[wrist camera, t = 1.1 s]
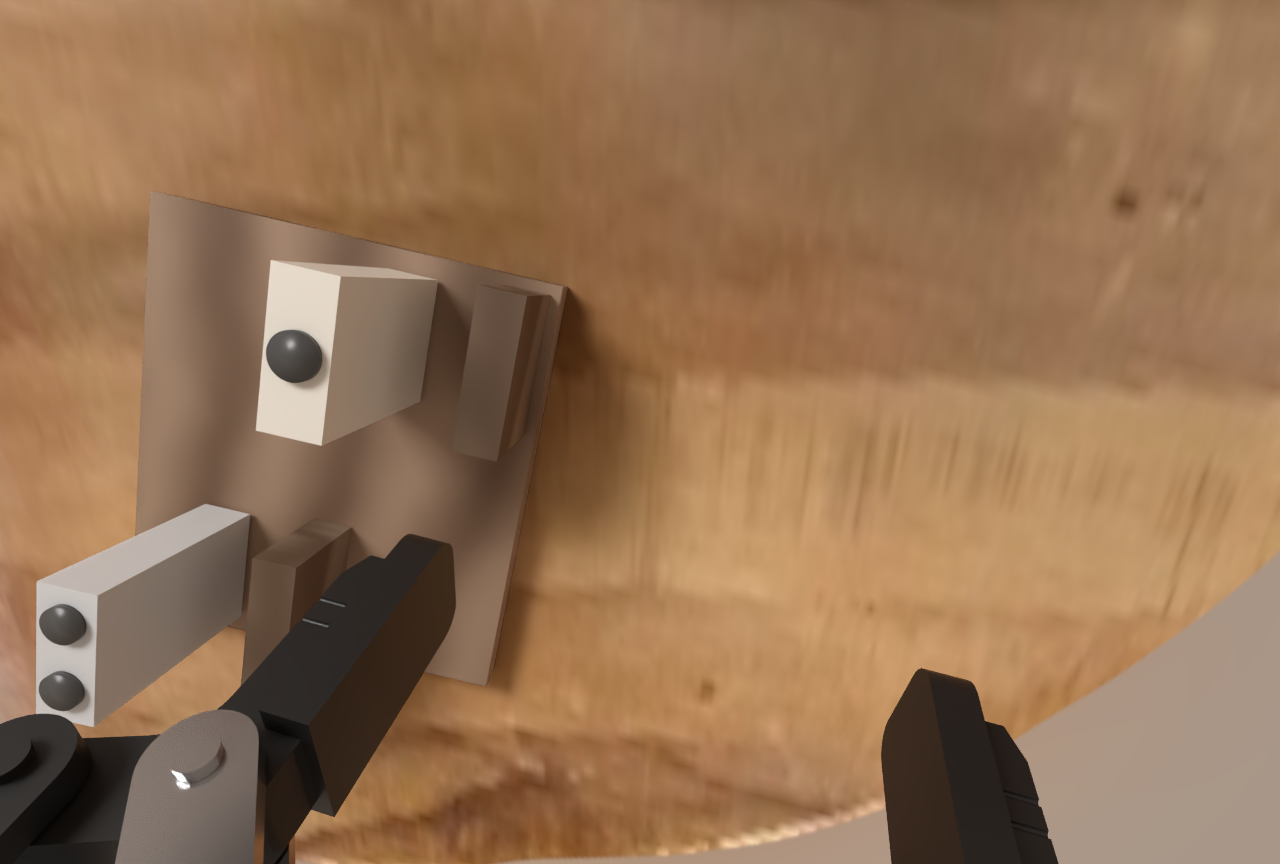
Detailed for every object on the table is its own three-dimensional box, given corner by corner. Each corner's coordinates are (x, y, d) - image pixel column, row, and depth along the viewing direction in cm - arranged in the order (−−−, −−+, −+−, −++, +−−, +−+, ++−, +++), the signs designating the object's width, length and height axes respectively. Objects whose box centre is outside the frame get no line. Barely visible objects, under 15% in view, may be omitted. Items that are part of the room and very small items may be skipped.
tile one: (372, 390, 31) (250, 432, 22) (388, 268, 30) (265, 259, 21) (419, 401, 31) (317, 447, 22) (438, 279, 30) (336, 276, 21)
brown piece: (154, 591, 36) (44, 655, 30) (175, 195, 31) (48, 171, 25) (493, 670, 36) (455, 750, 30) (568, 286, 31) (541, 286, 25)
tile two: (198, 605, 34) (28, 718, 25) (205, 503, 33) (28, 584, 24) (241, 615, 34) (86, 732, 25) (250, 514, 33) (90, 599, 24)
